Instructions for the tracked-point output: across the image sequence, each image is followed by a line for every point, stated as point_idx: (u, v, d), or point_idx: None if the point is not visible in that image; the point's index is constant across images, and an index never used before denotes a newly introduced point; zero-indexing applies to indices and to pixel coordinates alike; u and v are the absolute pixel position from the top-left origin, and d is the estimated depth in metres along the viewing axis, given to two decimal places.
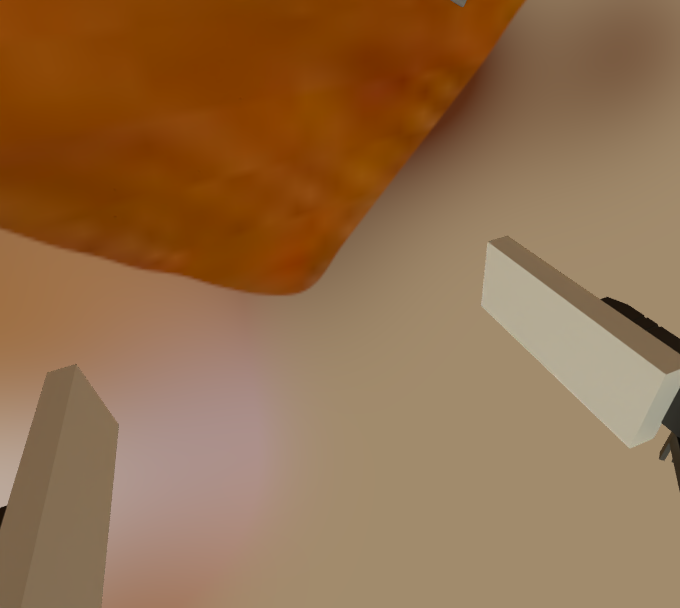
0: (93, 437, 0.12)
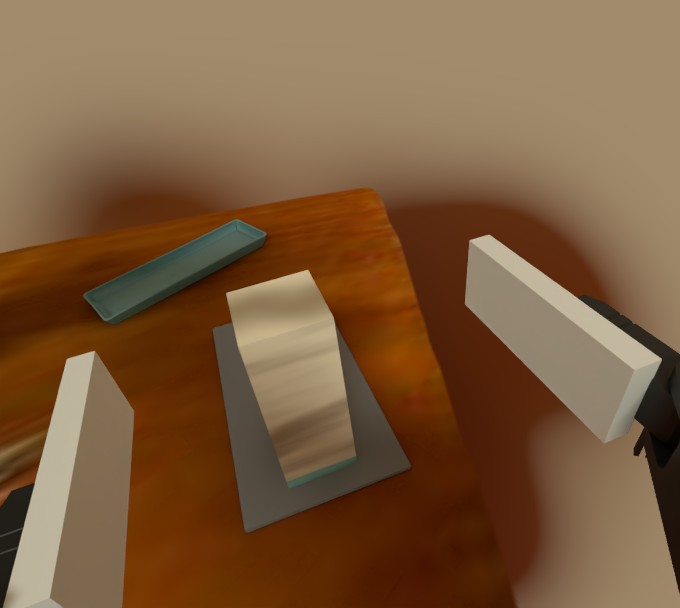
0: (112, 421, 0.12)
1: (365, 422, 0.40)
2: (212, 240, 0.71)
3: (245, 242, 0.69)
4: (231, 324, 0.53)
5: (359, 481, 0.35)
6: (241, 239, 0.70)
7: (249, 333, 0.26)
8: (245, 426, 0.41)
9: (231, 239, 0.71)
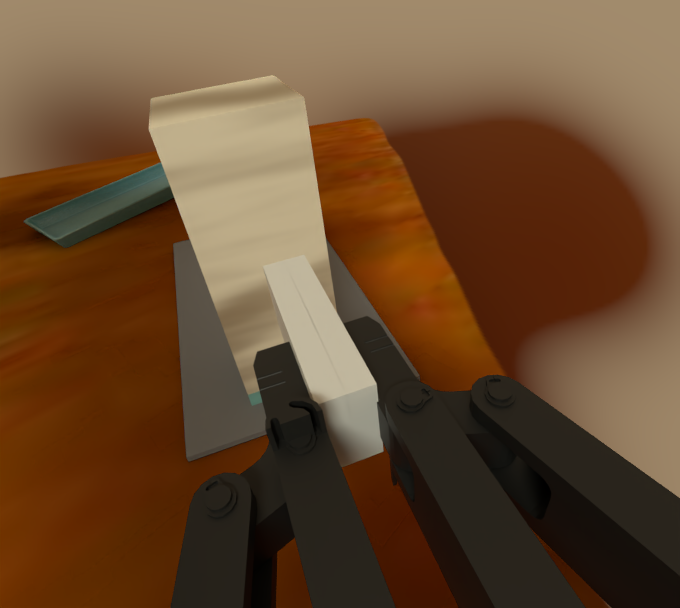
0: None
1: None
2: None
3: None
4: None
5: None
6: None
7: (171, 119, 0.17)
8: (201, 339, 0.31)
9: None
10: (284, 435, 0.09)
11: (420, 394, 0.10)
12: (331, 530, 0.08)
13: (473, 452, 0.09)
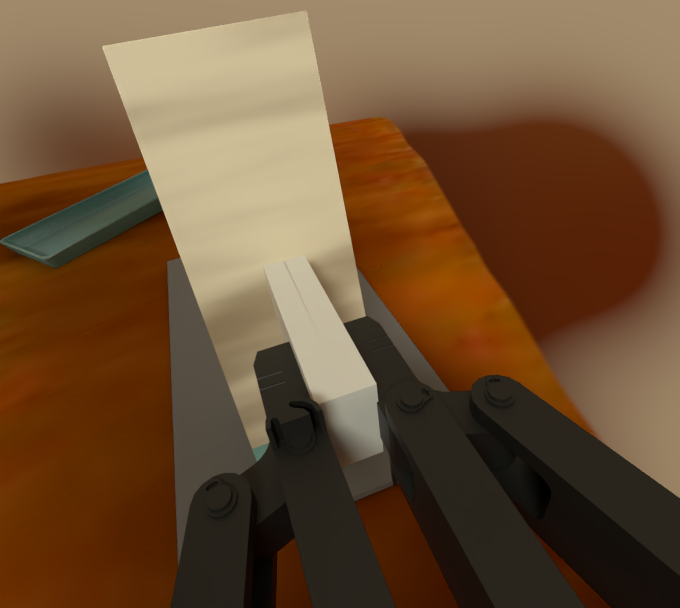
0: None
1: None
2: None
3: None
4: None
5: None
6: None
7: None
8: (199, 386, 0.25)
9: None
10: (284, 435, 0.09)
11: (420, 394, 0.10)
12: (331, 530, 0.08)
13: (473, 452, 0.09)
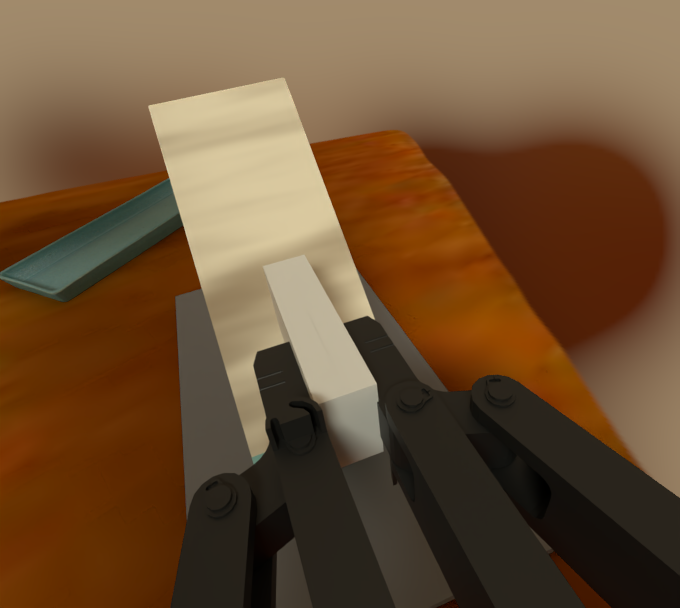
0: None
1: None
2: (168, 192, 0.53)
3: None
4: None
5: None
6: None
7: None
8: (215, 456, 0.22)
9: None
10: (284, 435, 0.09)
11: (420, 394, 0.10)
12: (331, 530, 0.08)
13: (473, 452, 0.09)
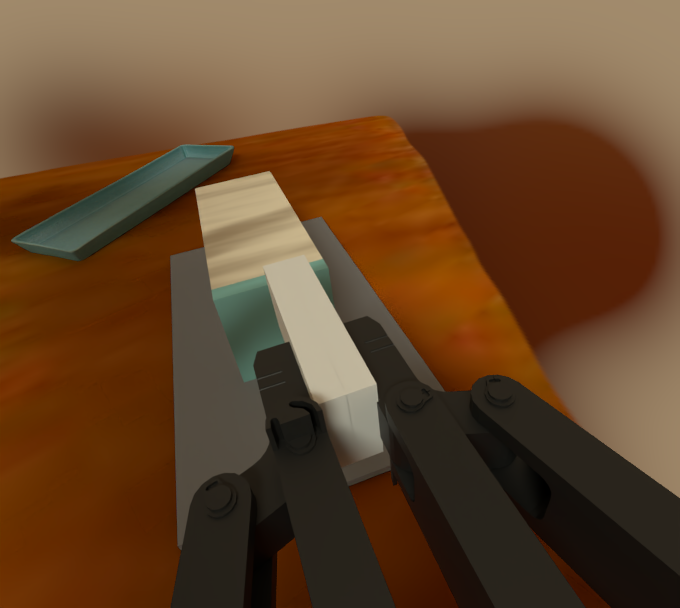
0: None
1: None
2: (161, 169, 0.57)
3: None
4: (196, 250, 0.38)
5: (386, 459, 0.20)
6: (198, 162, 0.58)
7: None
8: (200, 376, 0.26)
9: (185, 165, 0.58)
10: (284, 435, 0.09)
11: (420, 394, 0.10)
12: (331, 530, 0.08)
13: (473, 452, 0.09)
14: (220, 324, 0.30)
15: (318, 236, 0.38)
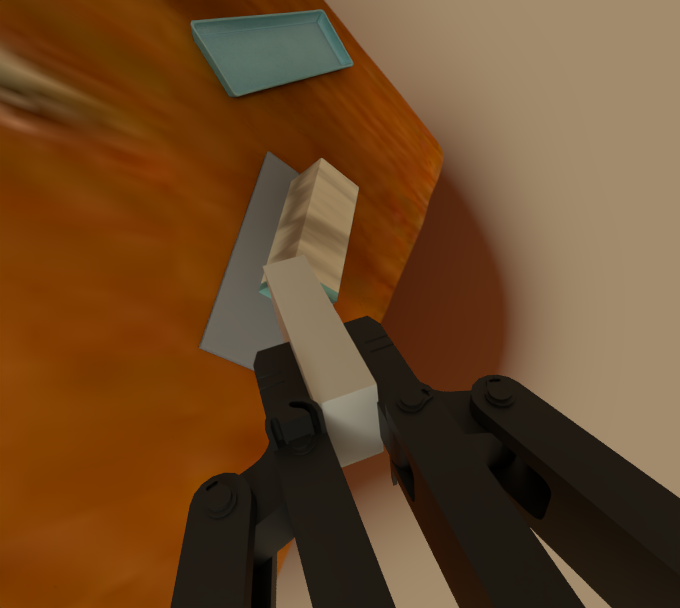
0: None
1: None
2: (298, 21, 0.63)
3: (327, 52, 0.66)
4: (283, 164, 0.53)
5: None
6: (323, 43, 0.66)
7: None
8: (243, 268, 0.46)
9: (313, 34, 0.65)
10: (284, 435, 0.09)
11: (420, 394, 0.10)
12: (331, 530, 0.08)
13: (473, 452, 0.09)
14: (266, 242, 0.48)
15: None
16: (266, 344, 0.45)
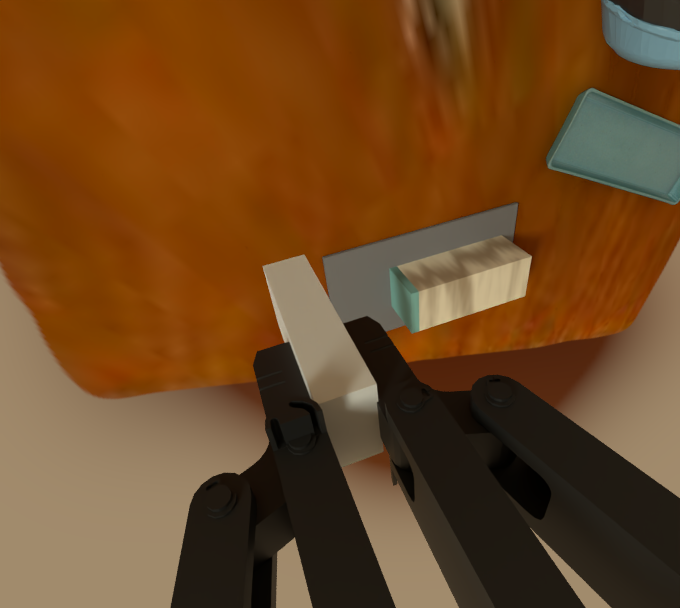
0: None
1: None
2: None
3: (671, 175, 0.61)
4: (513, 220, 0.56)
5: None
6: (679, 165, 0.60)
7: None
8: (400, 248, 0.53)
9: None
10: (284, 435, 0.09)
11: (420, 394, 0.10)
12: (331, 530, 0.08)
13: (473, 452, 0.09)
14: (433, 250, 0.54)
15: None
16: (353, 296, 0.54)
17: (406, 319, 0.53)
